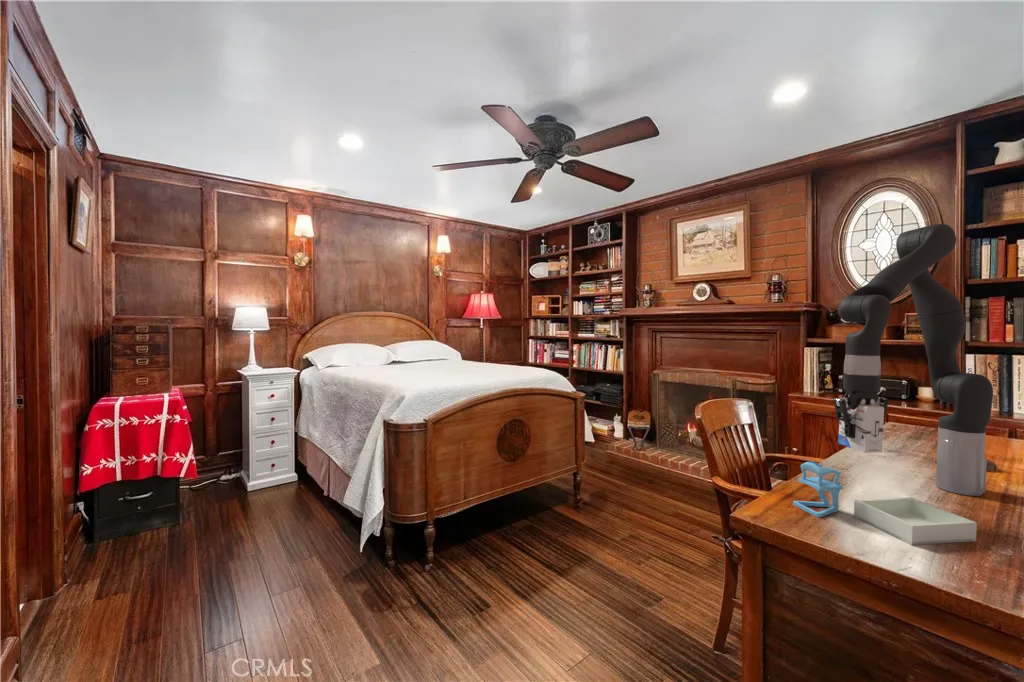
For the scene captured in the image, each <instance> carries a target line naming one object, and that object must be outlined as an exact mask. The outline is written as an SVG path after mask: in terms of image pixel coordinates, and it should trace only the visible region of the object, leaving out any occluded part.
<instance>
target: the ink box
mask: <svg viewBox="0 0 1024 682" xmlns="http://www.w3.org/2000/svg"><path fill="white" fill-rule="evenodd" d="M849 411H853V412H854V411H855V410H853V409H850V408H849ZM851 416H852V414H850V418H851ZM884 420H885V419H884V407H882V406H878V405H864V406H859V409H858V416H856V421H855V423H854V424H856V427H855V438H849V437H846V435H845V433H844V431H845V430H844V428H845V423H844V422H843V421H841V420H838V421H839V422H838V423H839V424H838V439H837V444H839V445H841V446H845V447H847V448H850V449H853V450H857V451H859V452H862V453H865V454H866V453H870V454H871V453H883V439H884V438H883V436H884V435H883V434H884Z"/></svg>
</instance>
